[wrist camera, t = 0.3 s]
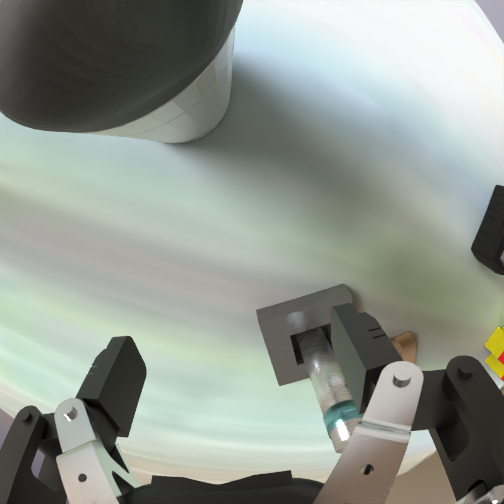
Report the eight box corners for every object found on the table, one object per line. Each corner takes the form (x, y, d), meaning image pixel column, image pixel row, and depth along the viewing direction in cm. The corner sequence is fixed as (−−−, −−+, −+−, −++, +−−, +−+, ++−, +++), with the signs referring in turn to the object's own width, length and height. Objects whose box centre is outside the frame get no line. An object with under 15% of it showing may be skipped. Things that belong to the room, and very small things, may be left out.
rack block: (343, 357, 34) (350, 369, 32) (408, 331, 34) (417, 341, 32) (348, 407, 38) (352, 418, 36) (403, 384, 38) (409, 394, 36)
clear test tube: (291, 325, 32) (332, 441, 17) (319, 316, 32) (375, 425, 17) (296, 346, 33) (334, 458, 18) (323, 338, 33) (373, 444, 18)
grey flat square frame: (256, 310, 31) (258, 322, 28) (343, 283, 31) (351, 294, 28) (276, 372, 34) (279, 386, 32) (350, 349, 34) (357, 361, 32)
